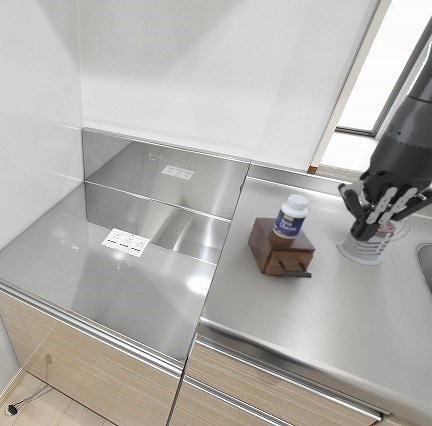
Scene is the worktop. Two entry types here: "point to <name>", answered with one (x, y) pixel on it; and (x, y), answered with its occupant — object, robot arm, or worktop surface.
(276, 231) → the pill bottle
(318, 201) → the worktop surface
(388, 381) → the worktop surface
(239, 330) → the worktop surface
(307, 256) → the drawer
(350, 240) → the french press
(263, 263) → the cabinet
